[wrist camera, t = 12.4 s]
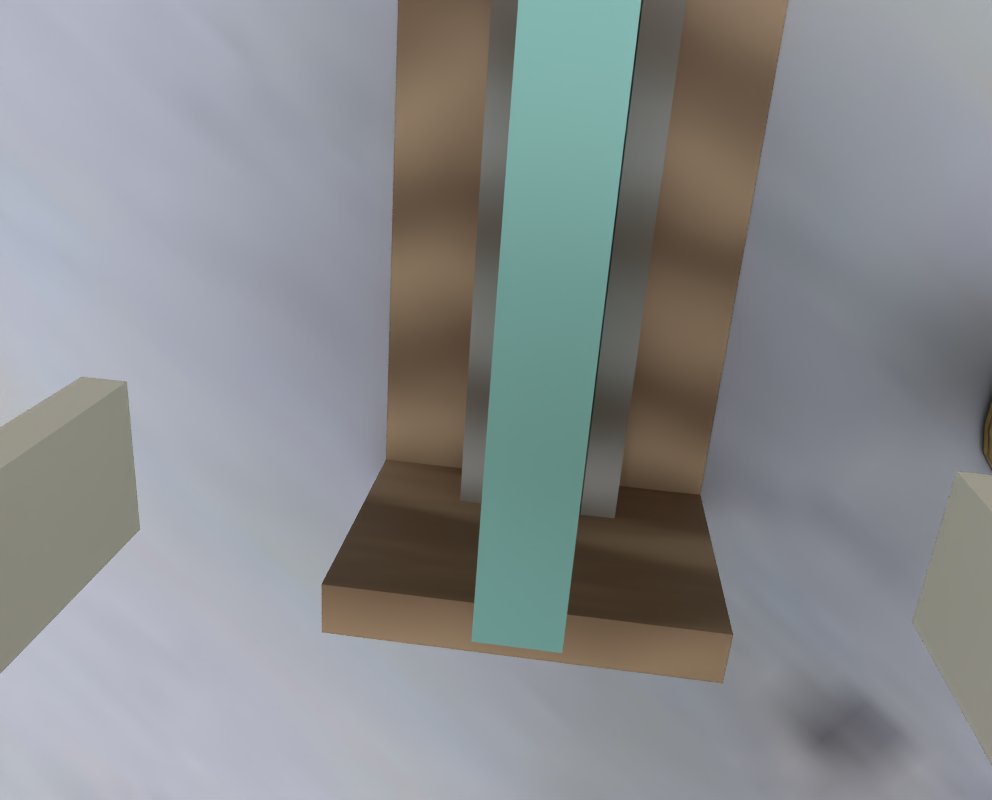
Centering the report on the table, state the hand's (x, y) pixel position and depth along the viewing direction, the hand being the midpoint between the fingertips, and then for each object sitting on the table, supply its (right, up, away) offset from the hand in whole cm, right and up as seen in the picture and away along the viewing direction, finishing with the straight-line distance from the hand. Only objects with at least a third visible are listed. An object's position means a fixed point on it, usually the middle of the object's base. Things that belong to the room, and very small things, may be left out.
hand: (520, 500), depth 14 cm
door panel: (+2, +8, +21) cm, 23 cm away
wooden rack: (+3, +9, +22) cm, 24 cm away
